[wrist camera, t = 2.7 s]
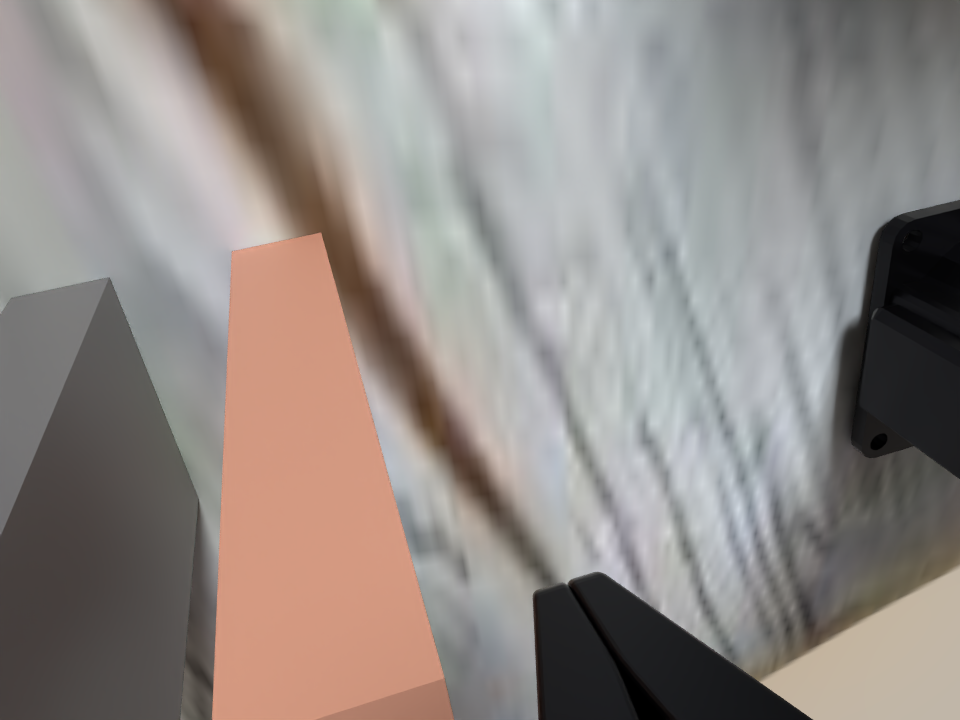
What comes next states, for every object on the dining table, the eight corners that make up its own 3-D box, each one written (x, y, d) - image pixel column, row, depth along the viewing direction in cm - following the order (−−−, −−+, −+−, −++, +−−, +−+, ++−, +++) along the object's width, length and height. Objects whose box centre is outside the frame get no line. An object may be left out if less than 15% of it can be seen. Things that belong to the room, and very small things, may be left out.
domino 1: (109, 277, 13) (-140, 864, 5) (199, 499, 16) (144, 1146, 7) (11, 298, 13) (-442, 961, 4) (117, 520, 15) (-39, 1221, 7)
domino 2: (320, 232, 14) (444, 677, 5) (374, 452, 16) (517, 997, 8) (231, 251, 14) (211, 754, 5) (300, 472, 16) (364, 1059, 7)
